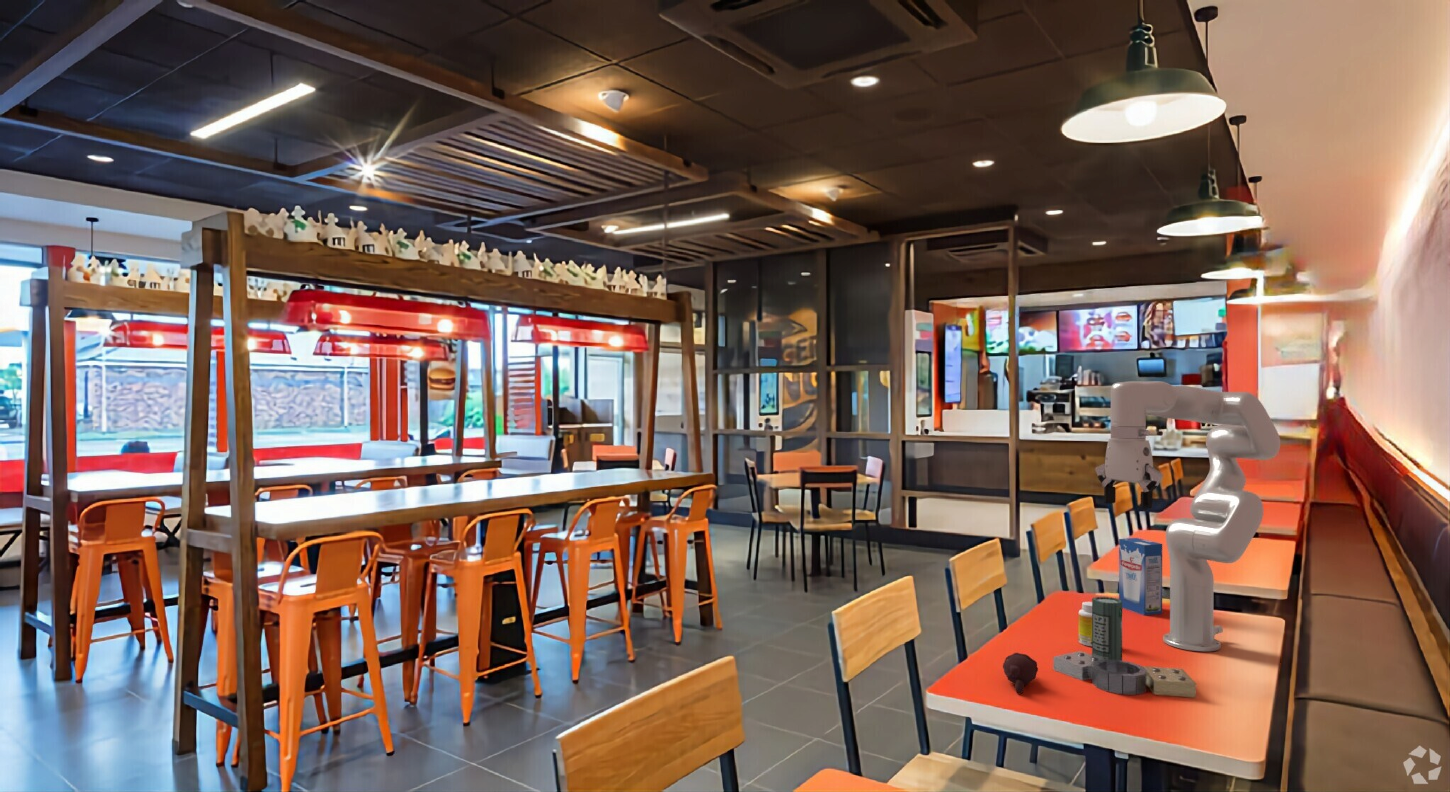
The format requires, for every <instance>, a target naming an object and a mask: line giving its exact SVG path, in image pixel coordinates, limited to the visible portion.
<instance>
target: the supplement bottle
mask: <svg viewBox="0 0 1450 792" xmlns="http://www.w3.org/2000/svg"><path fill="white" fill-rule="evenodd" d="M1078 642H1079V643H1080V644H1081V645H1083V646H1086V647H1092V601H1083V602H1082V604H1081V609H1079V611H1078Z"/></svg>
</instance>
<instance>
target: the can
mask: <svg viewBox="0 0 1450 792" xmlns="http://www.w3.org/2000/svg"><path fill="white" fill-rule="evenodd" d="M1091 602H1092V646H1091V655H1094V656H1097V657H1100V658H1103V659H1107V660H1121V661H1123V608H1122V601H1121V600H1119V598H1116V597H1111V596H1095V597H1092V598H1091Z"/></svg>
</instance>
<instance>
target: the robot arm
mask: <svg viewBox="0 0 1450 792" xmlns="http://www.w3.org/2000/svg"><path fill="white" fill-rule="evenodd" d="M1147 416H1152V417H1153V416H1154V417H1160V418H1161V417H1162V418H1166V419H1172V420H1180V421H1182V420H1183V421H1189V422H1197V423H1201V424H1207V425H1213V427H1211V428H1210V430H1209V431H1208V432H1207V435H1206V439H1205V444H1206V445H1205V446H1206V450H1207V454H1208V460H1209V471H1208V474H1207V476H1206V478H1205V479H1204V481H1203V482H1202V484H1201V486H1200V487H1199V489H1198V491H1197V492H1196V493H1195V495H1194V497H1193V499H1192V501H1191V503H1190V514H1191V516H1192V518H1190V517H1181V518H1176V519H1174V520H1172V521H1171V522H1170V523H1169V524H1168V525H1167V527H1166V530H1165V542H1166V546H1167V547H1166V548H1167V552H1168V558H1169V570H1170V571H1169V572H1170V574H1169V578H1170V581H1169V595H1170V596H1169V604H1170V605H1169V632H1167V633H1165V634H1163V636H1162V639H1163V642H1164V643H1165V644H1167V645H1168V646H1171V647H1174V648H1177V649H1182V650H1187V651H1193V652H1215V651H1218V650H1220V649H1221V643H1222V642H1220V641H1219V640H1217V638H1215V636H1216V635H1218V634H1221V633H1223V631H1224V629H1223V626H1221V625H1219V624H1218V625H1214V585H1215V583H1214V581H1215V580H1214V574H1213V570H1212V568H1211V565H1210V564H1209V562H1208V561H1212V562H1215V563H1222V564H1233V563H1235V562H1237V561H1239V559H1241V557H1242V556H1243V554H1244V553H1245V552H1246V550H1247V548H1248V547H1249V545H1250V543H1251V541H1252V540H1253V538H1254V536H1255V535H1256V533H1257V531H1258V530H1259V527H1260V525H1261V523H1262V521H1263V516H1264V503H1263V502H1262V501H1263V500H1262V499H1261V498H1260V497H1259V496H1258V495H1257V494H1255V493H1254V492H1252V491H1249V490H1245V489H1244V488H1245V486H1246V483H1247V480H1246V476H1245V473H1244V471H1243V469H1242V468H1241V466H1240V465H1239V462H1238V460H1237V459H1245V460H1257V461H1258V460H1260V461H1265V460H1267V461H1268V460H1271V459H1273V458H1274V457H1276V456H1277V455H1278V454H1279V451H1280V449H1281V438H1280V435H1279V433H1278V430H1277V428H1276V426H1275V425H1274V422H1273V421H1272V419H1271V417H1270V415H1269V414H1268V411H1267V409H1266V408H1265V406H1264V404H1263V403H1262V402H1261V401H1260V400H1259V398H1258V397H1257V396H1256V395H1255V394H1253V393H1251V392H1247V391H1218V390H1217V391H1215V390H1212V389H1206V388H1205V389H1204V388H1202V387H1201V388H1200V387H1195V386H1190V385H1189V386H1187V385H1172V384H1170V383H1168V382H1166V381H1162V380H1160V381H1159V380H1157V381H1155V380H1154V381H1153V380H1152V381H1151V380H1150V381H1149V380H1148V381H1147V380H1145V381H1144V380H1142V381H1140V380H1139V381H1138V380H1137V381H1136V380H1132V381H1131V380H1130V381H1121V382H1119V381H1117V382H1115V383H1113V384H1112V385H1111V387H1110V438H1109V439H1108V441H1107V445H1106V451H1105V459H1104V460H1105V462H1104V463H1101V464H1100V465H1098V466H1096V467H1095V468H1094V470H1095V473H1096V474H1097V479H1098V480H1099V482H1100V483H1101V486H1102V487H1103V489H1104V491H1103V492H1104V493H1103V496H1104V497H1103V498H1104V499H1103V500H1104V504H1106V505H1108V504H1109V505H1110V504H1115V503H1116V500H1117V499H1116V496H1117V493H1116V491H1117V489H1116V488H1117V487H1116V486H1115V484H1116V483H1117V482H1124V483H1125V482H1126V483H1133V484H1138V486H1140V488H1141V489H1142V491H1140V509H1142V510H1147V509H1149V510H1150V509H1152V508H1153V501H1154V500H1153V494H1154V493H1153V492H1154V491H1156V489H1157V488H1158V487H1159V486H1160V483H1161V481H1162V479H1163V477H1164V474H1163V473H1162V472H1160V471H1159V470H1157V469H1156V468H1155V467H1154V461H1153V459H1154V458H1153V453H1152V447H1151V443H1150V440H1147V439H1146V438H1147V437H1149V436H1150V430H1149V429H1148V430H1147V425H1146V424H1147V422H1146V421H1147V418H1146V417H1147Z"/></svg>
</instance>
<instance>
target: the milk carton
mask: <svg viewBox="0 0 1450 792" xmlns="http://www.w3.org/2000/svg"><path fill="white" fill-rule="evenodd" d="M1118 599H1119V600H1121V601H1122V609H1125V610H1127V609H1128V611H1129V612H1133V613H1136V614H1138V615H1142V616H1151V615H1153V616H1154V615H1162V614H1163V543H1159V542H1156V541H1152V540H1147V539H1143V538H1139V537H1133V538H1131V537H1129V538H1127V537H1126V538H1119V539H1118Z"/></svg>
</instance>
